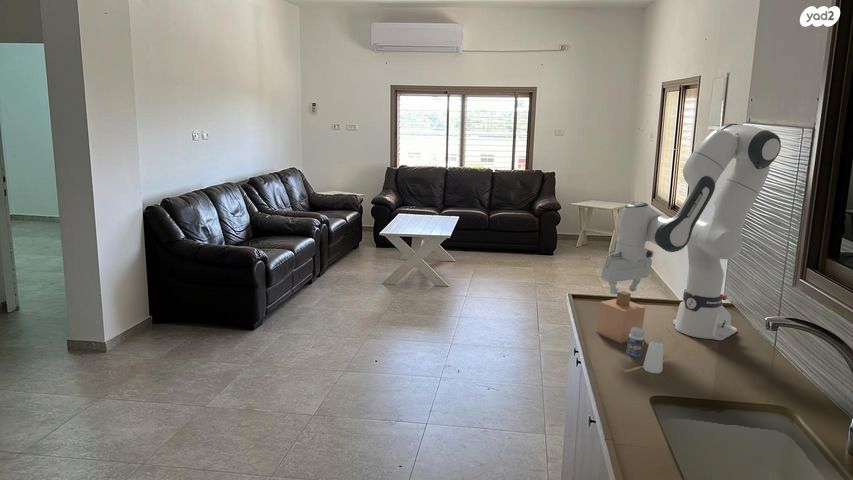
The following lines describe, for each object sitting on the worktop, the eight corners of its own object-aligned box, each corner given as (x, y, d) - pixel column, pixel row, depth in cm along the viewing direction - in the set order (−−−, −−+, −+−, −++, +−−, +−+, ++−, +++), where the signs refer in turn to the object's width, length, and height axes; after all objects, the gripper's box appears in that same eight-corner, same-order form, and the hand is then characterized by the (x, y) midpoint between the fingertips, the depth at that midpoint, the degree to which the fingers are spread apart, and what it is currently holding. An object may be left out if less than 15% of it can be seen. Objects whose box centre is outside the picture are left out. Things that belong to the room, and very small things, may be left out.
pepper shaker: (662, 375, 183) (667, 339, 181) (642, 371, 185) (647, 336, 183) (662, 367, 188) (667, 333, 186) (643, 364, 190) (648, 330, 188)
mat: (616, 327, 220) (616, 326, 220) (643, 339, 210) (644, 338, 210) (593, 333, 213) (593, 331, 213) (620, 345, 204) (620, 343, 204)
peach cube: (616, 327, 219) (622, 286, 215) (641, 337, 210) (647, 295, 207) (596, 332, 213) (601, 290, 210) (620, 342, 205) (626, 299, 202)
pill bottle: (625, 356, 196) (628, 330, 194) (626, 350, 200) (630, 325, 198) (641, 359, 194) (645, 333, 192) (642, 353, 198) (646, 328, 196)
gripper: (615, 256, 197) (609, 298, 200) (657, 251, 208) (650, 291, 211) (599, 251, 202) (594, 292, 205) (641, 247, 213) (635, 286, 216)
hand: (623, 292), depth 208 cm, fingers open, 8 cm apart
